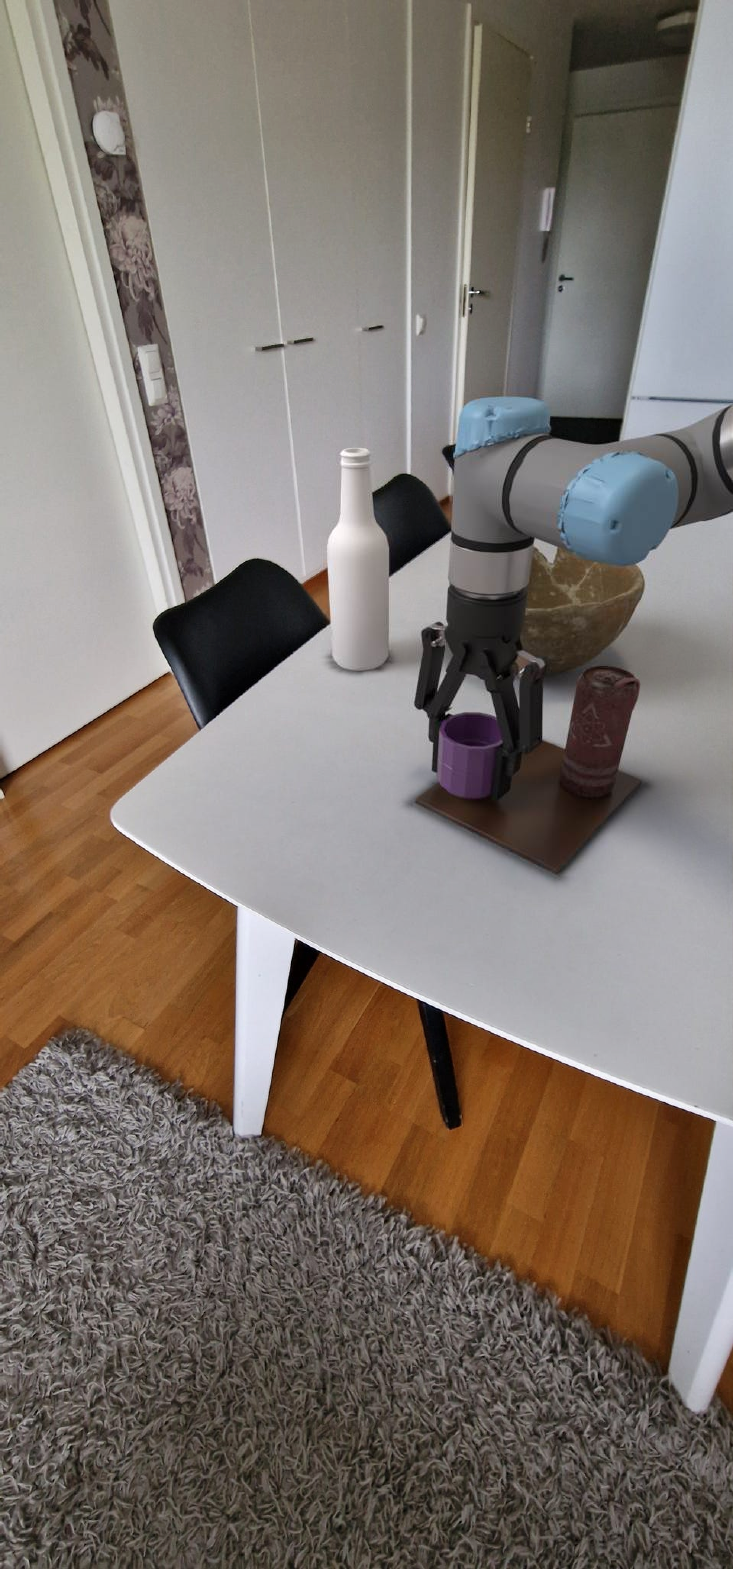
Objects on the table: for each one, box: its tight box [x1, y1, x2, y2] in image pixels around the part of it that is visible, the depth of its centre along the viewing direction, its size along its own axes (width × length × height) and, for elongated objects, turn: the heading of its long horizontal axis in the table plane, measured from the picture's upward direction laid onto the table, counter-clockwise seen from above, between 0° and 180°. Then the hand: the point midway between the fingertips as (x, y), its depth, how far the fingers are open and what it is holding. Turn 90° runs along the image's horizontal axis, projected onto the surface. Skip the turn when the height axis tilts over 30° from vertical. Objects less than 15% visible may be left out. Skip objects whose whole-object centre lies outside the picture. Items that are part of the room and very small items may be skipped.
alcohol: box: [326, 447, 390, 672], centre depth 101 cm, size 9×9×30 cm
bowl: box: [448, 546, 646, 677], centre depth 103 cm, size 28×27×15 cm
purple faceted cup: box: [436, 711, 503, 799], centre depth 78 cm, size 7×8×7 cm
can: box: [560, 665, 641, 798], centre depth 77 cm, size 6×6×14 cm
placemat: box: [414, 739, 643, 875], centre depth 81 cm, size 18×20×1 cm
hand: (470, 779), depth 80 cm, fingers closed on purple faceted cup, 7 cm apart
